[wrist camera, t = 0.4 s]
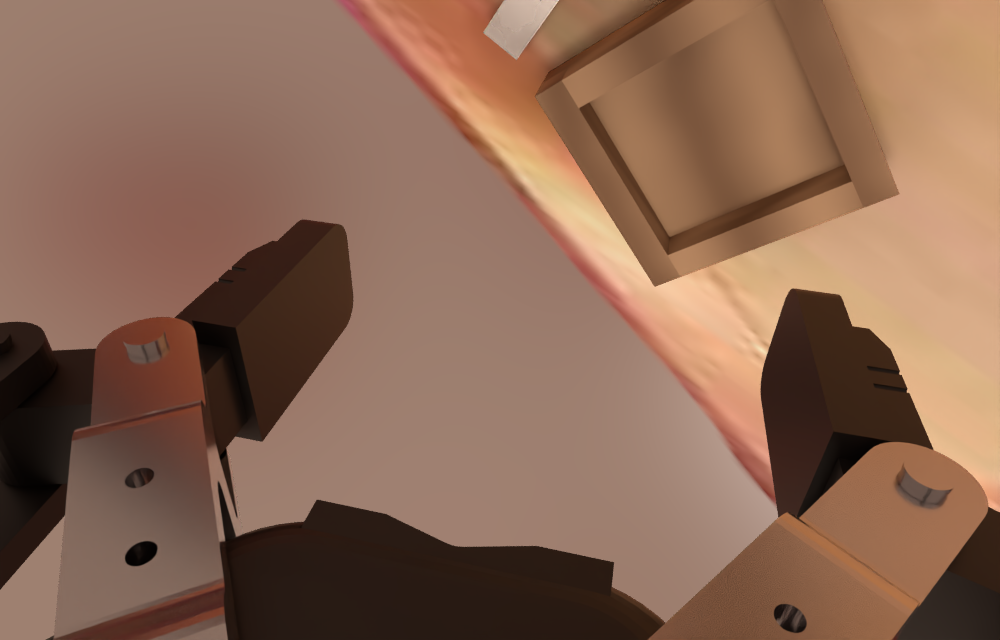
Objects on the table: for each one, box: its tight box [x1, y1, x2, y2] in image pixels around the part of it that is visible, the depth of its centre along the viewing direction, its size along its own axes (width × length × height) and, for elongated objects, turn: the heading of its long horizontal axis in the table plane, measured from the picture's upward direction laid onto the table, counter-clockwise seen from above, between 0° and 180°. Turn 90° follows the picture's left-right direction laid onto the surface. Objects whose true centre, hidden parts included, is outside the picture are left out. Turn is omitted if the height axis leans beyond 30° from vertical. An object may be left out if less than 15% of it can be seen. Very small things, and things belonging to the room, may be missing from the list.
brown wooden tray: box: [535, 0, 899, 286], centre depth 32 cm, size 12×12×3 cm
